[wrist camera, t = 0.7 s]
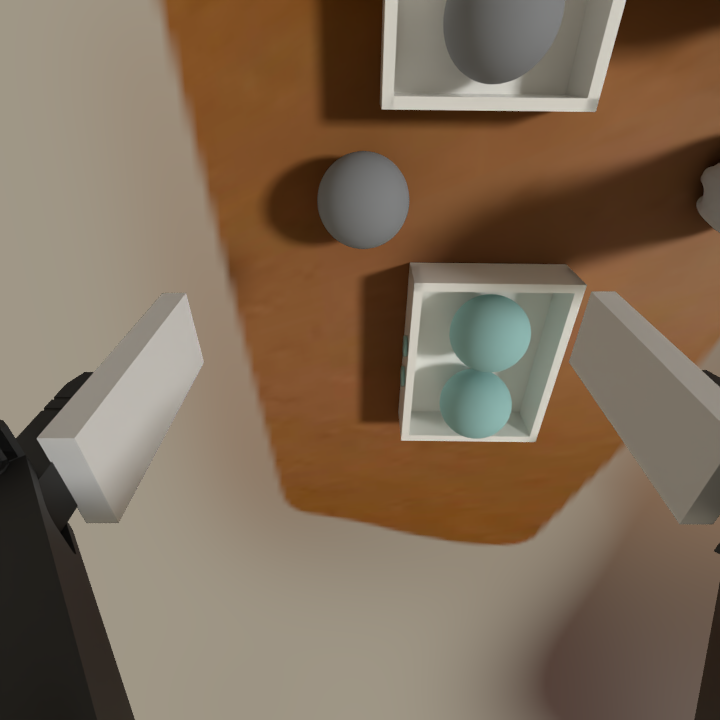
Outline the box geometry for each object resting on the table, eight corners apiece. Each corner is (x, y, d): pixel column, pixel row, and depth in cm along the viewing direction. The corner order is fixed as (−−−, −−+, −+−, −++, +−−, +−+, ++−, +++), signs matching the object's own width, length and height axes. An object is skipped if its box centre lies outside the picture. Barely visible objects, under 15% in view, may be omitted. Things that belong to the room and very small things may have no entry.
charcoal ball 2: (442, -51, 22) (462, -80, 17) (553, -49, 22) (604, -79, 17) (431, 81, 25) (445, 86, 20) (528, 82, 25) (565, 87, 20)
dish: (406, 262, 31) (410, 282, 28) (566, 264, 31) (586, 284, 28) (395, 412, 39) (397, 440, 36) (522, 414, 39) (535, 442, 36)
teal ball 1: (448, 280, 32) (463, 317, 27) (525, 281, 32) (552, 318, 27) (440, 344, 35) (451, 388, 30) (509, 345, 35) (531, 388, 30)
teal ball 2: (438, 354, 35) (450, 397, 31) (507, 355, 35) (528, 399, 31) (431, 406, 38) (441, 453, 34) (494, 407, 38) (512, 454, 34)
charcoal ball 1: (319, 143, 27) (310, 160, 22) (408, 144, 27) (417, 161, 22) (322, 231, 30) (315, 262, 26) (402, 232, 30) (409, 263, 26)
